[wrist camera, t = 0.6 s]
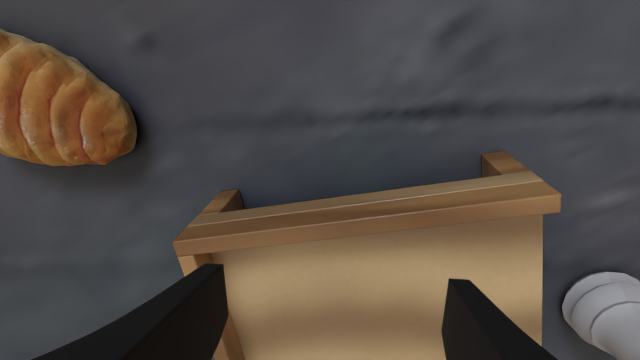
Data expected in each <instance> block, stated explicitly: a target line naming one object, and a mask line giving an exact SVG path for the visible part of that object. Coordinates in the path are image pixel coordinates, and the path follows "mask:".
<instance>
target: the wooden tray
mask: <svg viewBox="0 0 640 360" xmlns="http://www.w3.org/2000/svg"><path fill="white" fill-rule="evenodd" d="M481 162H482V178H476V179H469V180H461V181H454V182H446V183H439V184H431V185H424V186H416V187H409V188H402V189H394V190H387V191H379V192H372V193H364V194H357V195H349V196H342V197H334V198H327V199H319V200H312V201H304V202H297V203H289V204H282V205H274V206H267V207H259V208H252V209H244V207H243V203H242V200H241V196H240V193H239V190H238V189H236V190H229V191H222V192H220V193H219V194H218V195H217V196H216V197H215V198H214V199H213V200H212V201H211V202H210V203H209V204H208V205H207V206H206V207H205V208H204V209H203V210H202V211H201V213H200V214H199V215H198V216H196V217H195V219H194V220H193V221H192V222H191V223H190V224H189V225H188V226H187V227H186V228H185V229H184V230H183V231H182V232H181V233H180V235H179V236H178V237H177V238H176V239H175V240H174V241H173V245H174V248H175V251H176V254H177V256H179V257H178V259H179V262H180V265H181V267H182V270H183V273H184V276H186V275H188V274H189V273H191V272H192V271H194V270H195V269H197V268H198V267H200V266H202V265H203V264H205V263H211V264H223V265H224V275H225V284H226V294H227V303H228V313H229V316H228V319H227V322H226V325H225V328H224V331H223V333H222V336H221V339H220V342H219V344H218V346H217V348H216V351H215V353H214V355H213V356H214V359H215V360H446V356H445V351H444V345H443V339H442V333H441V329H442V322H443V315H444V308H445V301H446V295H447V288H448V281H449V278H451V279H467V280H470V281H471V282H472V283H473V284H474V285H476V286H477V287H478V288H479V289H480V290H481V291H482V292H483V293H484V294H485V295H486V296H487V297H488V298H489V299H490V300H491V301H492V302H493V303H494V304H495V305H496V306H497V307H498V308H499V309H500V310H501V311H502V312H503V313H504V314H505V315H506V316H507V317H508V318H510V319H511V320H512V321H513V322H514V323H515V324H516V325H517V326H518V327H519V328H520V329H522V330H523V331H524V332H525V333H526V334H527V335H528V336H530V337H531V338H532V339H533V340H534V341H536V342H537V343H538V344H539V345H540V346H541V347H542V273H543V215H544V214H552V213H560V212H561V194H560V193H559V192H558V191H556V190H555V189H554V188H552V187H551V186H550V185H548V184H547V183H546V182H544V181H543V180H542V179H541V178H540V177H538V176H537V175H536V174H534V173H533V172H532V171H530V170H529V169H528V168H526V167H525V166H524V165H522V164H521V163H520V162H518V161H517V160H516V159H514V158H513V157H512V156H511V155H509V154H508V153H507V152H505V151H499V152H492V153H485V154H481Z"/></svg>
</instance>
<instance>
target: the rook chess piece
mask: <svg viewBox="0 0 640 360" xmlns="http://www.w3.org/2000/svg"><path fill="white" fill-rule="evenodd" d="M562 310H563V315H564V319H565V320H566V321H567V323H568V324H569V325H570V326H571V327H572V328H573V329H574V330H575V332H576V333H577V334H578V335H579V336H580V337H581V338H582V339H583V340H584V341H586V342H587V343H589V344H591V345H594V346H596V347H598V348H599V349H601V350H603V351H605V352H607V353H609V354H611V355H613V356H614V357H615V358H616V359H617V360H640V282H639V281H638V280H637V279H635V278H633V277H631V276H629V275H627V274H625V273H615V272H599V273H594V274H589V275H587V276H585V277H583V278H581V279H579V280H577V281H576V282H575V283H574V284H573V285H572V286H571V287H570V288H569V289H568V290H567V293H566V296H565V299H564V302H563V305H562Z"/></svg>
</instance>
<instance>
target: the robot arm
mask: <svg viewBox="0 0 640 360" xmlns="http://www.w3.org/2000/svg"><path fill="white" fill-rule="evenodd" d="M228 316H229V313H228V303H227V294H226V284H225V275H224V265H223V264H211V263H205V264H203V265H202V266H200V267H198V268H197V269H195V270H194V271H192V272H191V273H189V274H188V275H186V276H185V277H184V278H182V279H181V280H179V281H178V282H176V283H175V284H173V285H172V286H170V287H169V288H167V289H166V290H164V291H163V292H161V293H160V294H158V295H157V296H155V297H154V298H152V299H150V300H149V301H147V302H146V303H144V304H142V305H141V306H139V307H137V308H136V309H134V310H133V311H131V312H129V313H128V314H126V315H124V316H123V317H121V318H119V319H117V320H116V321H114V322H112V323H110V324H108V325H106V326H104V327H102V328H100V329H98V330H97V331H95V332H93V333H91V334H89V335H87V336H85V337H83V338H80V339H78V340H76V341H74V342H71V343H69V344H67V345H65V346H62V347H60V348H58V349H56V350H53V351H51V352H49V353H47V354H44V355H42V356H39V357H37V358H34V359H31V360H211V359H212V357H213V355H214V353H215V351H216V348H217V346H218V344H219V342H220V339H221V336H222V333H223V331H224V328H225V325H226V322H227V319H228ZM441 333H442V339H443V345H444V351H445V356H446V360H558V359H556V358H555V357H554V356H553V355H551V354H550V353H549V352H547V351H546V350H545V349H544V348H543V347H541V346H540V345H539V344H538V343H537V342H536V341H534V340H533V339H532V338H531V337H530V336H528V335H527V334H526V333H525V332H524V331H523V330H522V329H520V328H519V327H518V326H517V325H516V324H515V323H514V322H513V321H512V320H511V319H510V318H508V317H507V316H506V315H505V314H504V313H503V312H502V311H501V310H500V309H499V308H498V307H497V306H496V305H495V304H494V303H493V302H492V301H491V300H490V299H489V298H488V297H487V296H486V295H485V294H484V293H483V292H482V291H481V290H480V289H479V288H478V287H477V286H476V285H474V284H473V283H472V282H471V281H470V280H467V279H451V278H449V281H448V288H447V295H446V301H445V308H444V315H443V322H442V329H441Z"/></svg>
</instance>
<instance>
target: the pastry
mask: <svg viewBox="0 0 640 360" xmlns="http://www.w3.org/2000/svg"><path fill="white" fill-rule="evenodd" d="M136 138H137V127H136V123H135V119H134V116H133V113H132V110H131V108H130V106H129V104H128V103H127V102H126V101H125V100H124V99H123V98H122V96H120V94H119V93H117V92H116V91H114V90H112V88H111V87H109V86H108V85H107V84H105V83H103V82H102V81H101V80H100V79H98V78H97V77H96V76H95V75H94V74H93V73H92V72H91V71H89V69H88V68H87V67H86V66H84V65H83V64H82V63H81V62H80V61H79V60H78V59H76V58H74V57H70V56H67V55H65V54H63V53H62V52H60V51H58V50H57V49H55V48H53V47H51V46H49V45H47V44H44V43H37V42H35V41H32V40H30V39H28V38H26V37H23V36H20V35H17V34H13V33H9V32H6V31H4V30H2V29H0V153H2V154H4V155H6V156H9V157H15V158H20V159H24V160H27V161H29V162H32V163H39V164H48V165H51V166H61V165H64V166H76V165H83V164H98V165H106V164H108V163H110V162H111V161H113V160H114V159H116V158H117V157H120V156H122V155H125V154H127V153H129V152H131V151H132V150H133V149H134V147H135V142H136Z"/></svg>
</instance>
